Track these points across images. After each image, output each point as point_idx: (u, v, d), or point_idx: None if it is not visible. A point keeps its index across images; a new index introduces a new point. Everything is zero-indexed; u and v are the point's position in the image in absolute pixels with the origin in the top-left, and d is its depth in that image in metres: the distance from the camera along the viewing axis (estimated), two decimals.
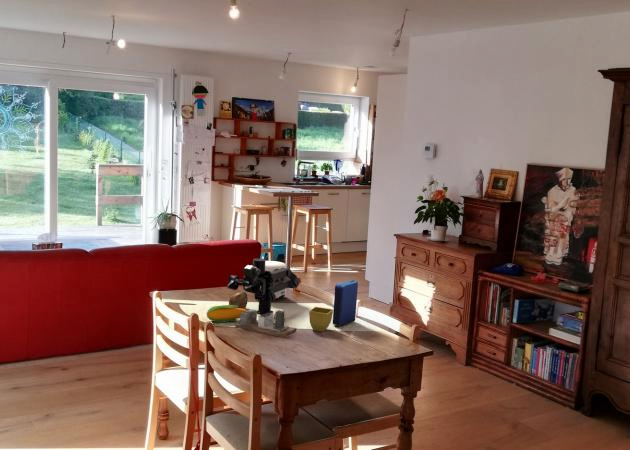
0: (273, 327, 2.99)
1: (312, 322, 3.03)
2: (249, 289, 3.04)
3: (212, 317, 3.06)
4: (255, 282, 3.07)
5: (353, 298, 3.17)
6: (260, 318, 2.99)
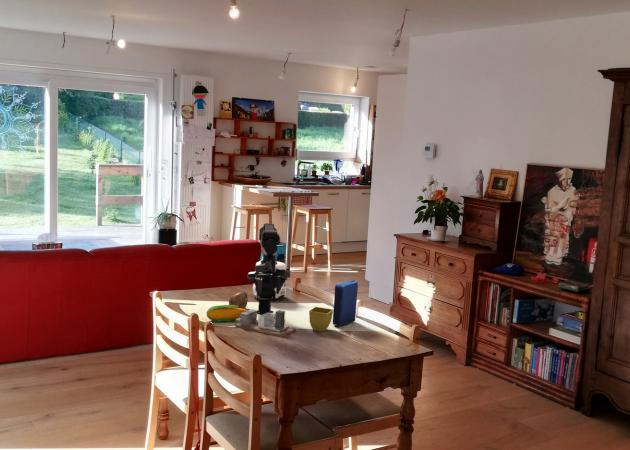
0: (273, 327, 2.99)
1: (312, 322, 3.03)
2: (279, 288, 2.96)
3: (212, 317, 3.07)
4: (277, 278, 2.95)
5: (353, 298, 3.17)
6: (260, 318, 2.99)
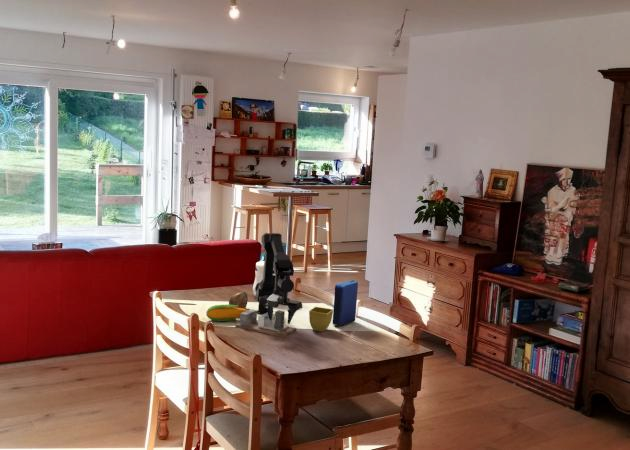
0: (273, 327, 2.99)
1: (312, 322, 3.03)
2: (290, 319, 2.97)
3: (211, 316, 3.08)
4: (289, 311, 2.94)
5: (353, 298, 3.17)
6: (260, 318, 2.99)
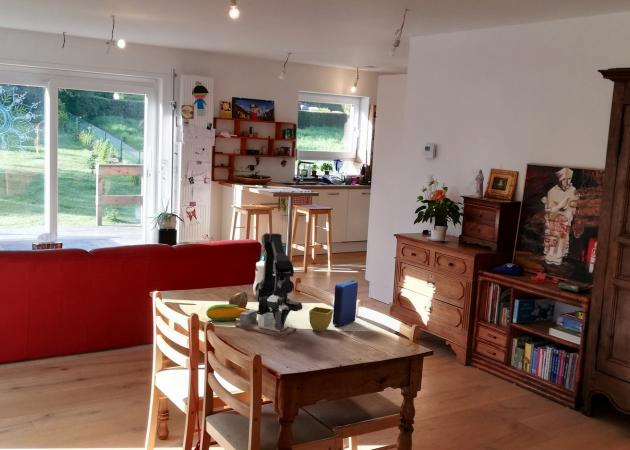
0: (273, 327, 2.99)
1: (312, 322, 3.03)
2: (285, 318, 2.98)
3: (211, 316, 3.08)
4: (283, 311, 2.95)
5: (353, 298, 3.17)
6: (260, 318, 2.99)
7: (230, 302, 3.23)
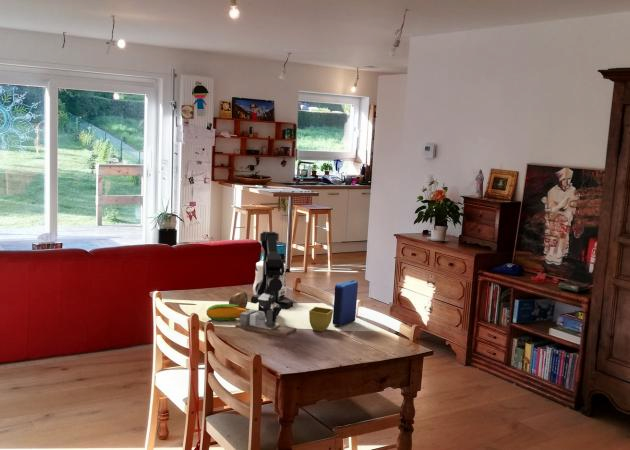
0: (264, 325, 3.01)
1: (312, 322, 3.03)
2: (276, 316, 3.00)
3: (211, 315, 3.09)
4: (274, 309, 2.97)
5: (353, 298, 3.17)
6: (251, 316, 3.01)
7: (230, 302, 3.23)
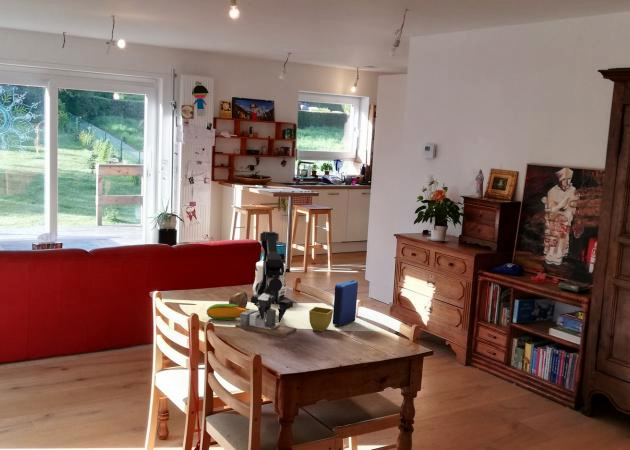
0: (264, 325, 3.01)
1: (312, 322, 3.03)
2: (281, 317, 2.99)
3: (211, 314, 3.10)
4: (279, 310, 2.96)
5: (353, 298, 3.17)
6: (251, 316, 3.01)
7: (230, 302, 3.23)
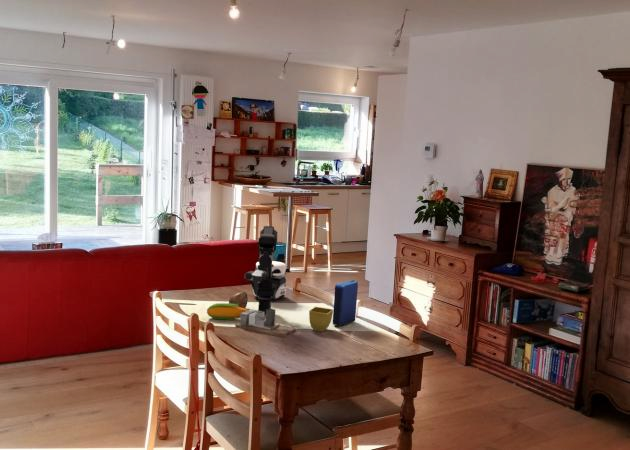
0: (264, 325, 3.01)
1: (312, 322, 3.03)
2: (274, 293, 3.10)
3: (211, 314, 3.11)
4: (273, 286, 3.07)
5: (353, 298, 3.17)
6: (251, 316, 3.01)
7: (230, 302, 3.23)
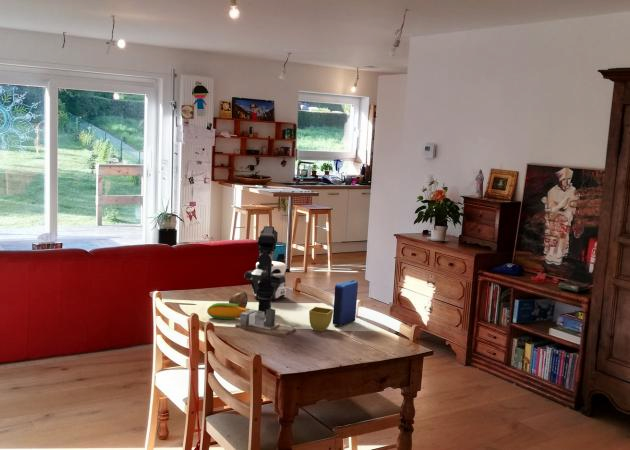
0: (264, 325, 3.01)
1: (312, 322, 3.03)
2: (274, 292, 3.10)
3: (211, 313, 3.12)
4: (273, 285, 3.07)
5: (353, 298, 3.17)
6: (251, 316, 3.01)
7: (230, 302, 3.23)
